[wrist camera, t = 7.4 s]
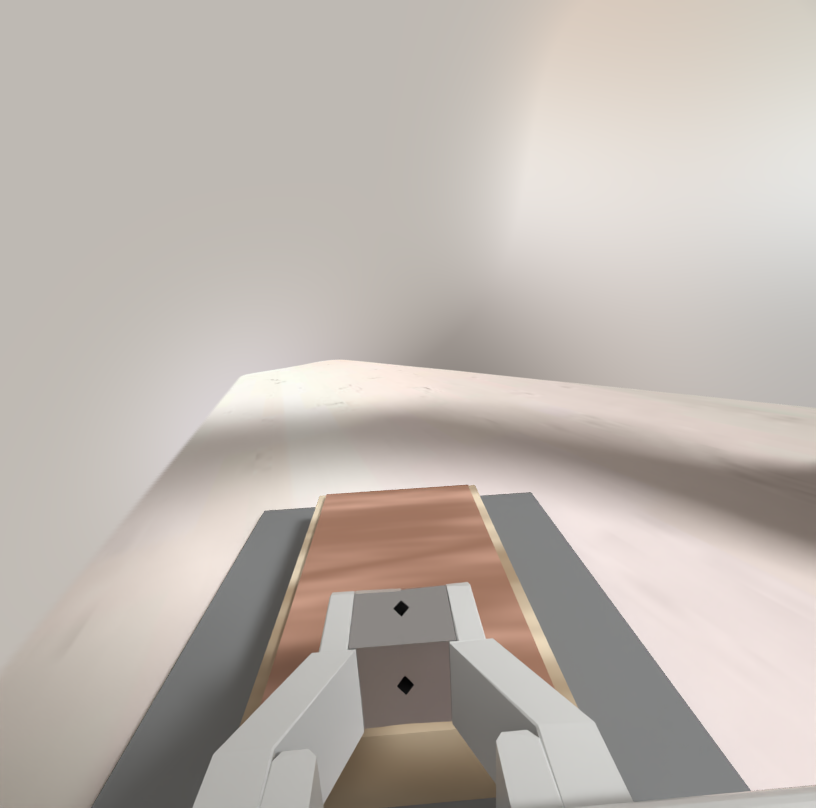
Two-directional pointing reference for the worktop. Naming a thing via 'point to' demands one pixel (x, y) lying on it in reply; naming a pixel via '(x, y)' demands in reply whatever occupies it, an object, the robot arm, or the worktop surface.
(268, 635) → the rubber mat
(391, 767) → the flat wooden block
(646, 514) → the worktop surface
